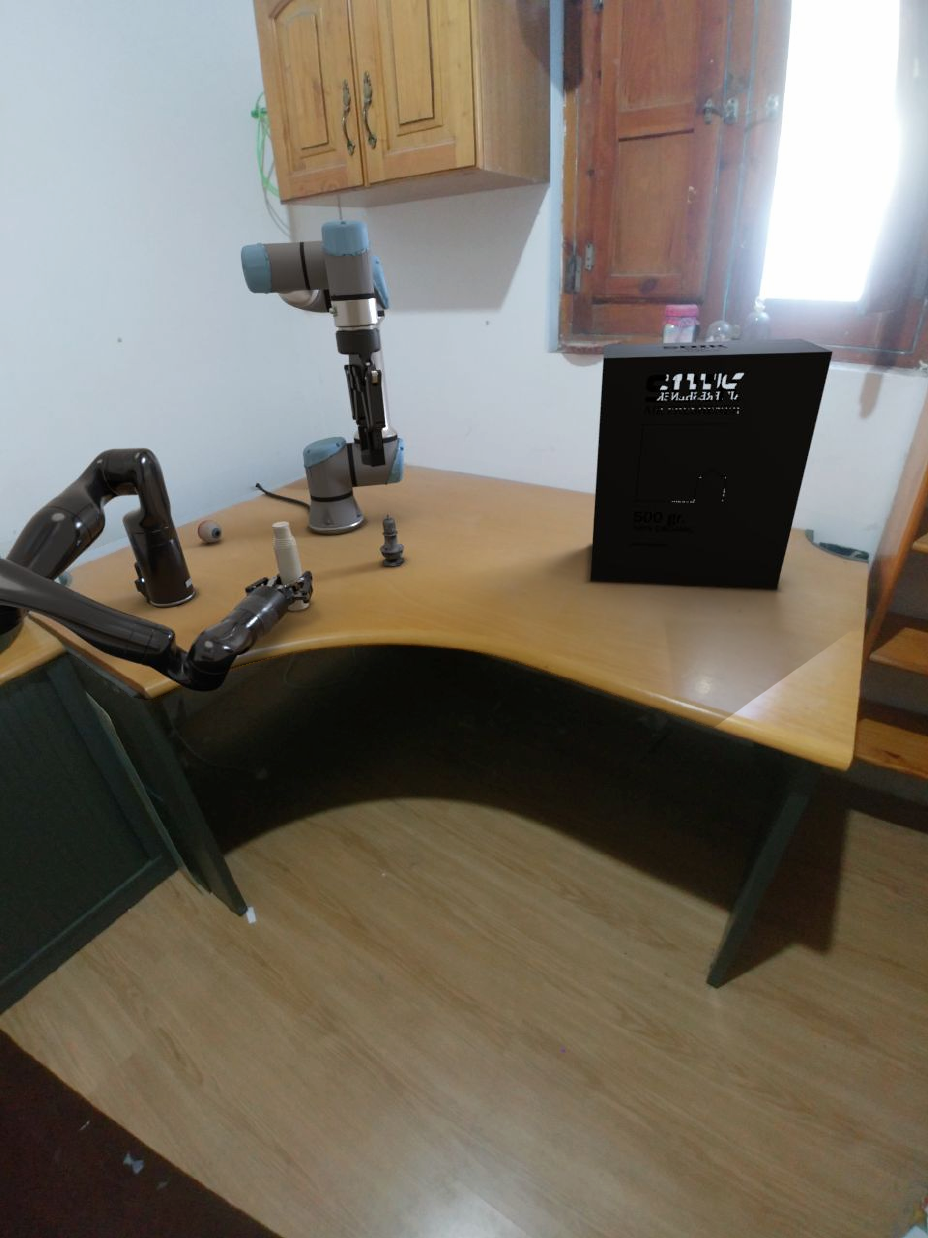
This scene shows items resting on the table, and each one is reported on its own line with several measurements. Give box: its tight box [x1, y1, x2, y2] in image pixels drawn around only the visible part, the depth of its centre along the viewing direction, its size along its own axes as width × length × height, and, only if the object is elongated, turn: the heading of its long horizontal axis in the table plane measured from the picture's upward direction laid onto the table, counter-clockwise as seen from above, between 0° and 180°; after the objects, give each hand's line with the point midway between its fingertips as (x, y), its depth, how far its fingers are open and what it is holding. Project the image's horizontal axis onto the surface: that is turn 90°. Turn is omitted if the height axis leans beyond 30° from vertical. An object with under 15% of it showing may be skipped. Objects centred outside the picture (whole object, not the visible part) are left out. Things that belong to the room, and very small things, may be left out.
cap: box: [361, 449, 371, 465], centre depth 115 cm, size 4×4×2 cm
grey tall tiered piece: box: [379, 514, 405, 567], centre depth 143 cm, size 6×6×12 cm
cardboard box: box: [589, 338, 834, 590], centre depth 125 cm, size 38×20×45 cm, turn 78°
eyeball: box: [197, 519, 223, 544], centre depth 161 cm, size 6×6×6 cm
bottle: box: [272, 521, 310, 612], centre depth 124 cm, size 5×5×18 cm
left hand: (298, 574), depth 128 cm, fingers closed on bottle, 4 cm apart
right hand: (373, 462), depth 115 cm, fingers closed on cap, 4 cm apart
